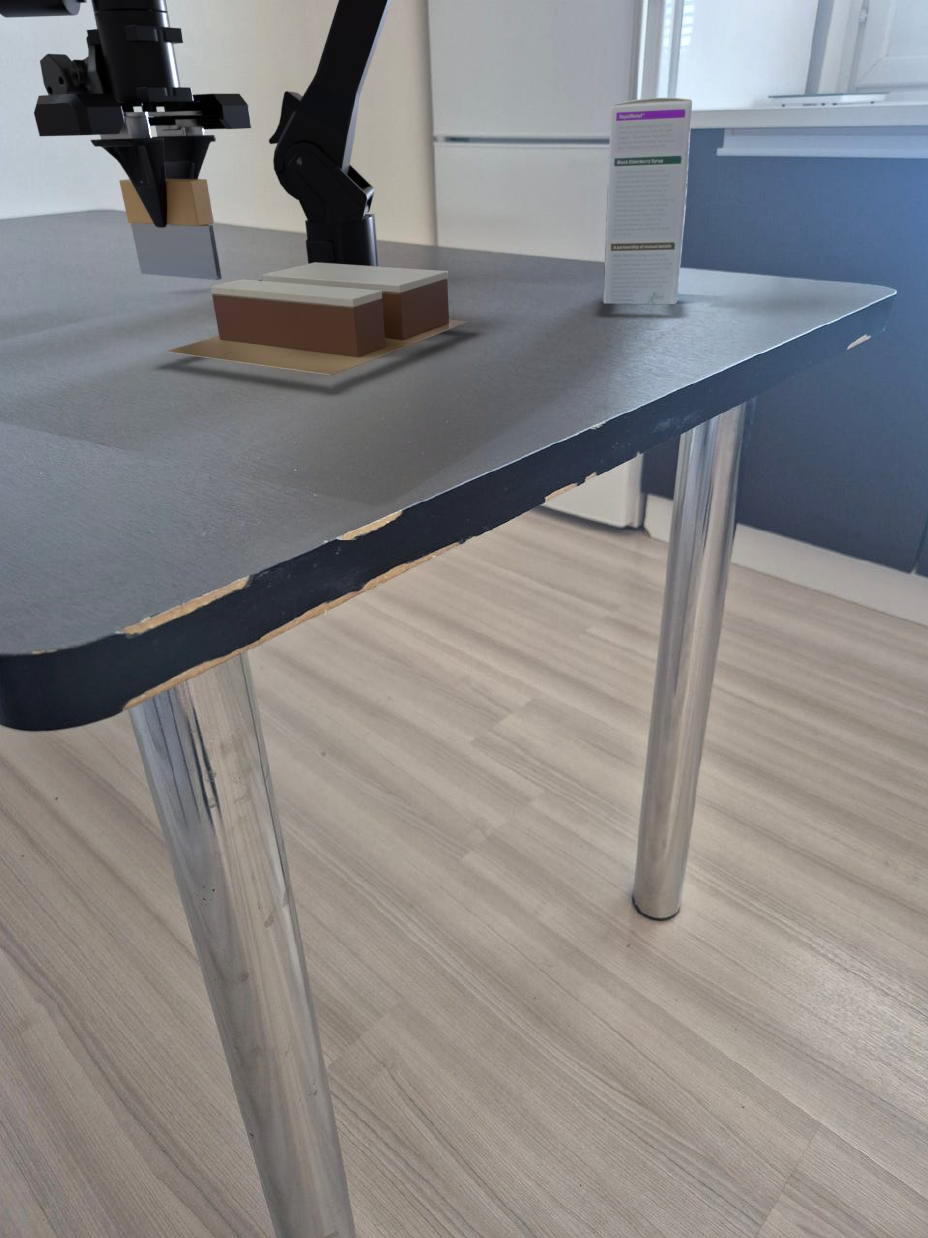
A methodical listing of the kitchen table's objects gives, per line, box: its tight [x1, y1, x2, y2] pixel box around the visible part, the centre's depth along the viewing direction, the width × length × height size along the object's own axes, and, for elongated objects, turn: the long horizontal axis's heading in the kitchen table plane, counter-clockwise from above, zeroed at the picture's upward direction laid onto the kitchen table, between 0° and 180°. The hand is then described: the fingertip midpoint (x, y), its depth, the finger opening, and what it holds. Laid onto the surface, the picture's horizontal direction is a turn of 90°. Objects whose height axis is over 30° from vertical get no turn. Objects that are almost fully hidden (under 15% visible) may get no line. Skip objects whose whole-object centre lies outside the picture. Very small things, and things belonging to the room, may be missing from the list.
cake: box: [261, 262, 450, 340], centre depth 61 cm, size 6×12×4 cm, turn 59°
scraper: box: [118, 178, 223, 281], centre depth 76 cm, size 10×2×8 cm, turn 59°
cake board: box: [165, 319, 469, 376], centre depth 59 cm, size 16×14×1 cm
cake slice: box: [210, 278, 386, 357], centre depth 56 cm, size 3×12×4 cm, turn 59°
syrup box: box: [602, 97, 693, 305], centre depth 64 cm, size 6×6×14 cm
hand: (171, 225), depth 76 cm, fingers closed on scraper, 2 cm apart
